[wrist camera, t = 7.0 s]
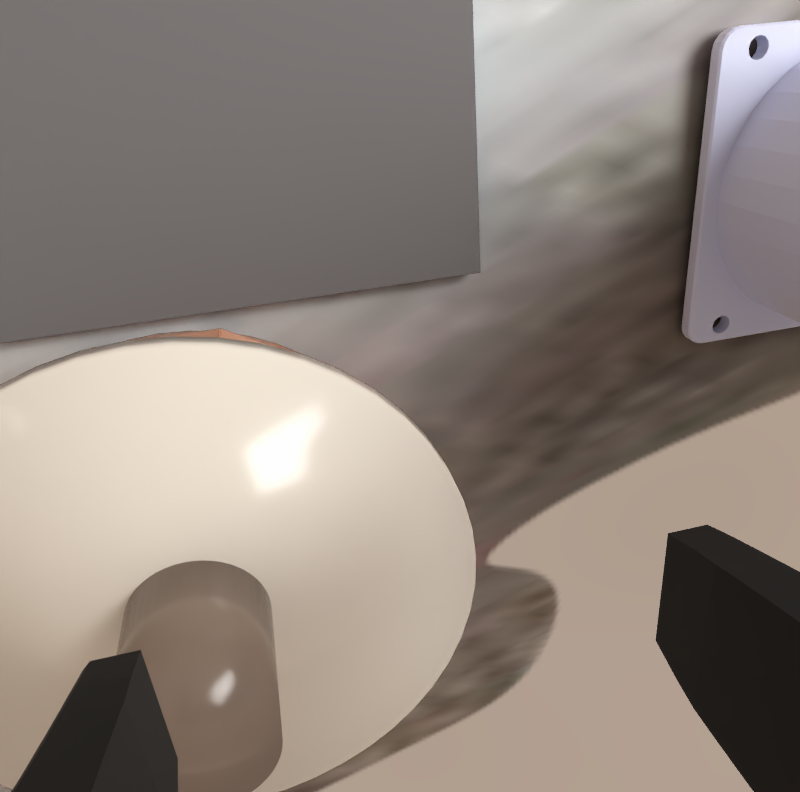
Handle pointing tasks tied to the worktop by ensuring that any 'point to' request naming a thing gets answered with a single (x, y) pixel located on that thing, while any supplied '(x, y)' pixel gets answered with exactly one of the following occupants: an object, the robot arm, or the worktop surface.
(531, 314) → the worktop surface
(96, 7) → the mat
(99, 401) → the lid
